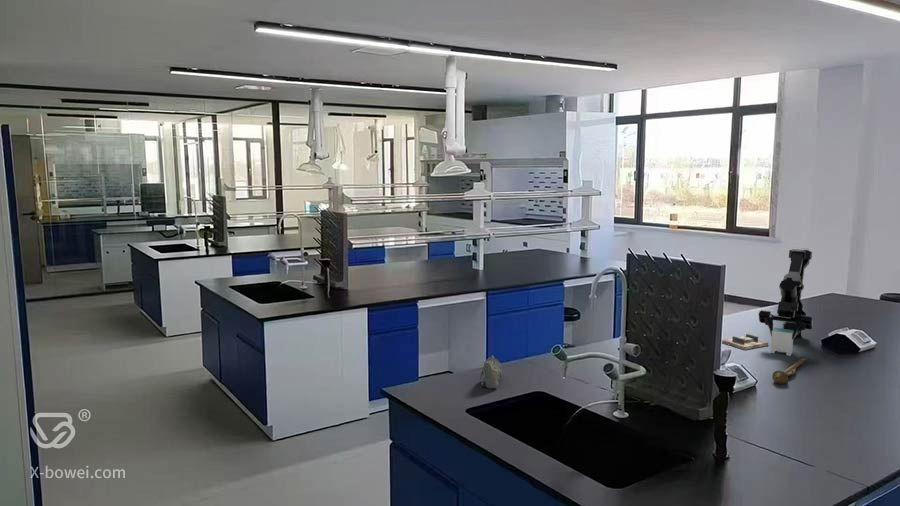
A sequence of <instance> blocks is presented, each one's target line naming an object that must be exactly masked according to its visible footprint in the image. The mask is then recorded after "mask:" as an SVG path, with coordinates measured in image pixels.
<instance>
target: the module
mask: <svg viewBox="0 0 900 506" xmlns="http://www.w3.org/2000/svg"><path fill="white" fill-rule="evenodd" d="M793 332H794V331H793V330H789V329H782V327H781V328H779V327H773V330H772V336H771V338H770V339H771V341H770V351H769V352H770V353H771V354H775V353H776V351H781V352H786V356H788V357H791V356H792V354H793V346H794V339H792V335H793Z"/></svg>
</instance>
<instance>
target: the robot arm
mask: <svg viewBox="0 0 900 506" xmlns="http://www.w3.org/2000/svg"><path fill="white" fill-rule="evenodd" d="M812 257H813V251H812V250H810V248H803V247H802V248H799V247H792V248H791V249H789V251H788V259H790V265H789V270H788V273H786V274H785V275H784V276H783V280H781V281H780V283H779V289H780V292H779V293H780V296H781V298H780V301H778V304H777V311H776V312H777V315H776V314H772V312H771V311H770V310H763V309H762V310H760V311H759V312H758V320H759V321H758V322H759V323H760V324H761V323H762V324H765V326H767V327H768V328H769V332H770V333H769V334H770V337H772V330H773V329H774V321H778V322H779V321H780V322H783V323H782V327H781V329H789V330H793V331H794V332H793V335H792V339H793V340H794V339H795V338H803V335H802V331H806V330H812V329H813V325H814V323H813V317H812V315H811V316H810V315H807V312H806V310H805V307H804V304H803V303H802V301H801V297H802V292H803V290H805V289H804V288H805V285H804V283H803V282H804V276H805V269H806V268H807V267H808V266H809V265H810V263H811V262H810V260H812Z"/></svg>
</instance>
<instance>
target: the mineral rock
mask: <svg viewBox="0 0 900 506" xmlns="http://www.w3.org/2000/svg"><path fill="white" fill-rule="evenodd" d="M502 376H503V368H502V364H501V362H500V361H499V360H498V359H496V358H495V356H494V355H493V354H492V355H490V356H489V357H488V358H487V359H486V360H485V361H484V362H483V368H482V370H481V372H480V376H479V380H480V382H481V384H480V385H481V387H482V388H487V389H497V388H498V387H499V381H500V379H501V378H502Z"/></svg>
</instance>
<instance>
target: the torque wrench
mask: <svg viewBox="0 0 900 506" xmlns="http://www.w3.org/2000/svg"><path fill="white" fill-rule="evenodd" d="M805 362H806V358H804V357H801V358H800V359H799V360H798V361H796V362H795V363H794V364H792V365H791V366H790V367H788V368H787V369H785V370H780V369H779V370H778V369H777V370H775V371H774V372H773V373H772V376H771V377H772V381H773V382H774V383H775V384H779V385H784V384H787V382H788V381H789V377H788V376H793V375H794V374H795V373H796V371H797V368H799V367H800V366H801V365H802V364H803V363H805Z"/></svg>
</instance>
